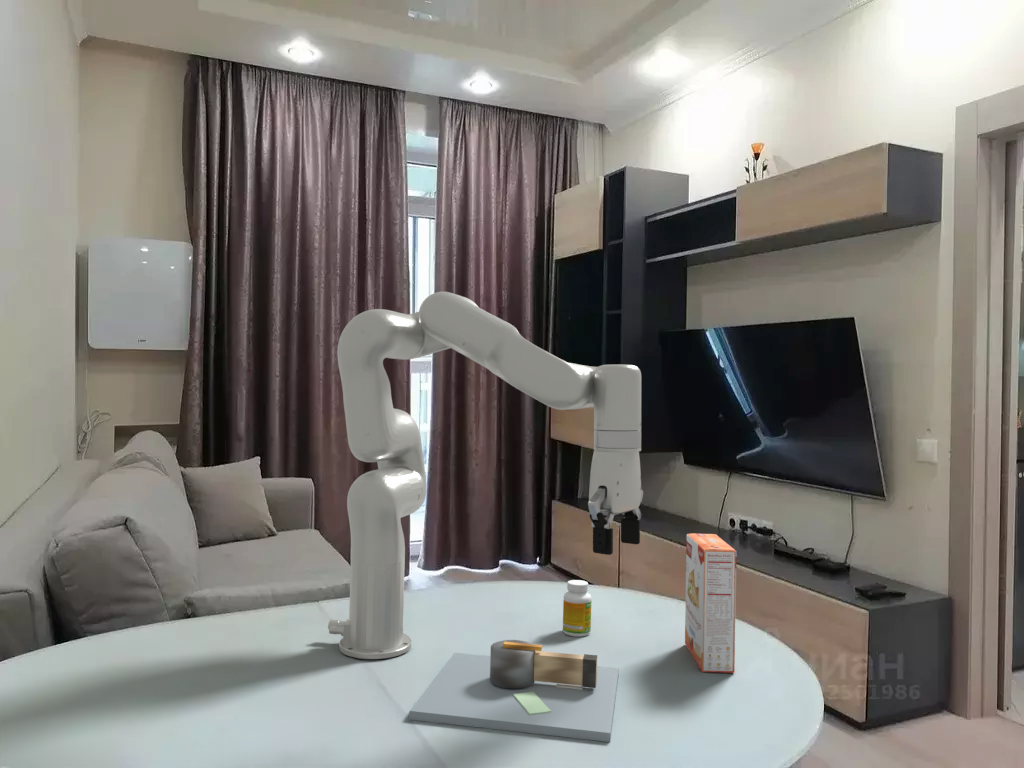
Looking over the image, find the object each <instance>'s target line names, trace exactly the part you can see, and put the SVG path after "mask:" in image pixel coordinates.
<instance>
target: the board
mask: <svg viewBox="0 0 1024 768" xmlns="http://www.w3.org/2000/svg"><path fill="white" fill-rule="evenodd" d="M619 673H620V668H619V667H610V666H599V665H597V683H596V688H589V687H582V686H581V685H571V684H561V683H551V682H541V681H535V682H534V683H533V684H532V685H530V686H528V687H525V688H518V689H510V688H503V687H499V686H496V685H494V684H493V683H491V681H490V655H484V654H472V653H463V652H462V653H461V652H453V654H452V655H451V657H449V659H448V660H447V662H446V663H445V664H444V665H443V666H442V668H441V669H440V671H438V673H437V675H436V676H435V678H433V680H432V681H431V682H430V684H429V685H428V686H427V688H426V689H425V690H424V692H423V693H422V694H421V696H419V699H418V700H417V701H416V702H415V703H414V705H413V706H412V707H411V709H410V710H409V720H412V721H420V722H430V723H439V724H447V725H458V726H466V727H473V728H474V727H475V728H482V729H493V730H500V731H501V730H502V731H509V732H516V733H517V732H519V733H527V734H536V735H546V736H552V737H553V736H554V737H561V738H570V739H571V738H573V739H579V740H580V739H581V740H588V741H589V740H590V741H598V742H606V743H611V739H612V731H613V723H614V715H615V707H616V701H615V700H616V699H617V693H616V692H617V691H618V683H619V676H620V674H619Z"/></svg>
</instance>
